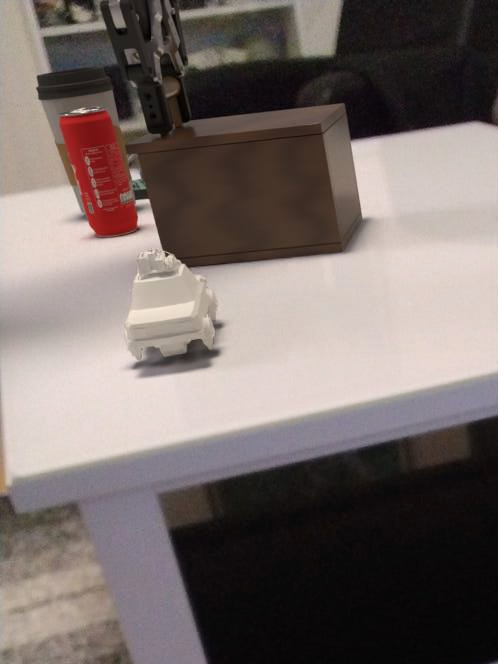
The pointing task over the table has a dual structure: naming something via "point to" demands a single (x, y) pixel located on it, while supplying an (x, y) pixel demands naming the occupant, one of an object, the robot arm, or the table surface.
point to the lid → (234, 125)
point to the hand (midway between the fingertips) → (171, 127)
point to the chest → (255, 197)
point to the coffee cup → (73, 94)
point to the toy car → (168, 306)
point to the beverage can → (99, 171)
